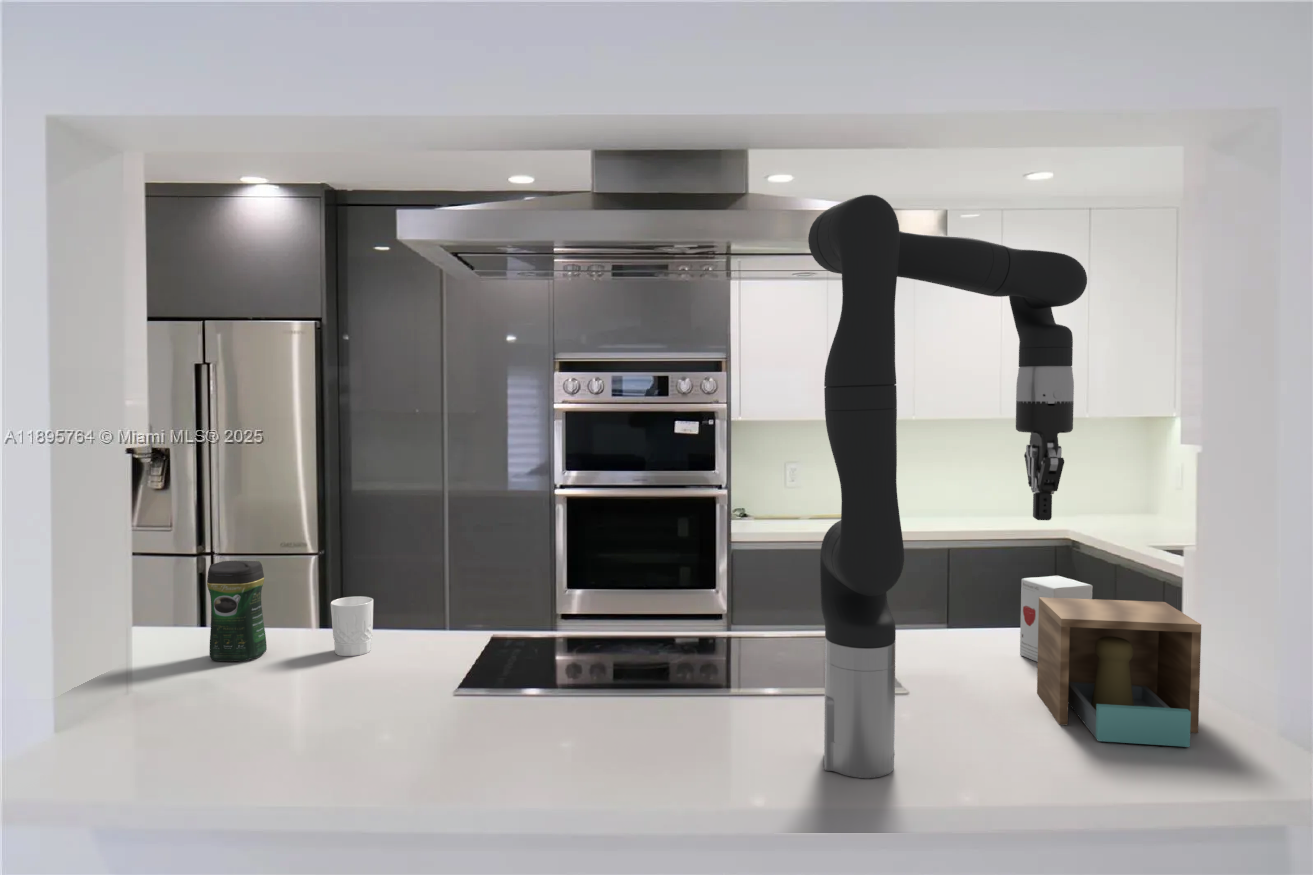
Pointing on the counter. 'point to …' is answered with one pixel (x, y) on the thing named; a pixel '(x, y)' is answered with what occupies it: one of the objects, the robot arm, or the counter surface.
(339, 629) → the white cup
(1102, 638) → the olive pawn figure
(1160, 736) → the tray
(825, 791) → the counter surface
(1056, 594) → the supplement box
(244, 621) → the coffee jar
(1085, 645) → the wooden drawer cabinet
